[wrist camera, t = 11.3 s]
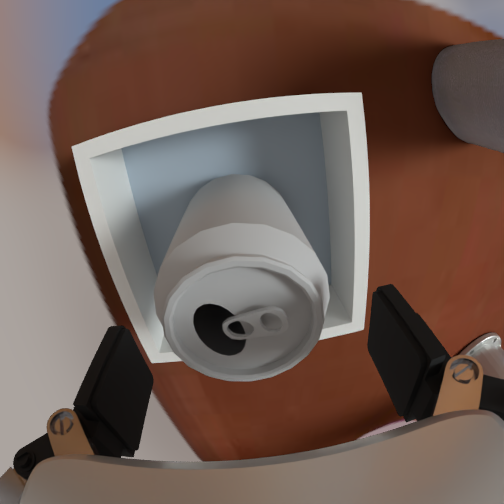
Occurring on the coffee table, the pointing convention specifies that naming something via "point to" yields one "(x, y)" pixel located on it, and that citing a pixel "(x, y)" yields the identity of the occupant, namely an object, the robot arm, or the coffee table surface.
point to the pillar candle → (472, 91)
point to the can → (240, 283)
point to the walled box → (226, 163)
